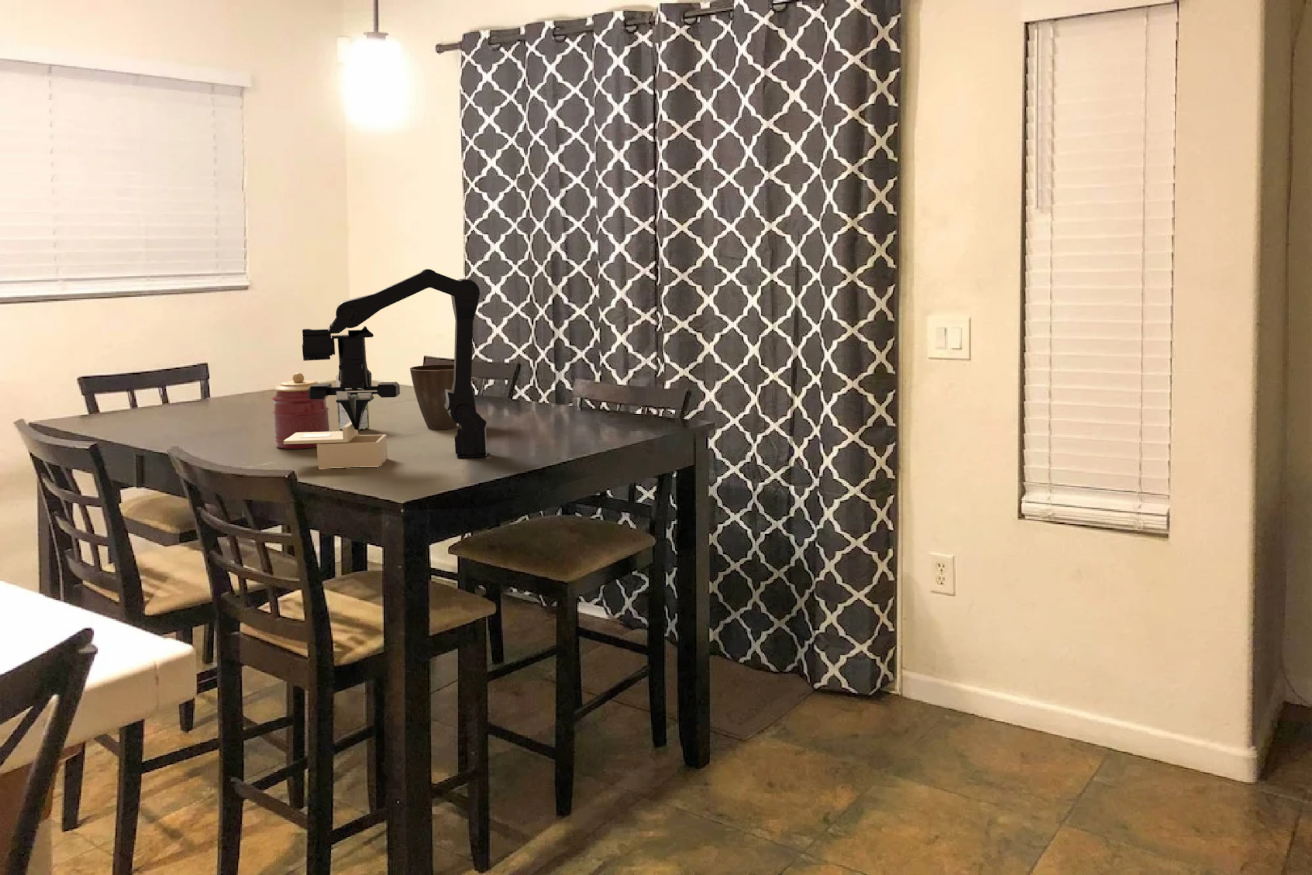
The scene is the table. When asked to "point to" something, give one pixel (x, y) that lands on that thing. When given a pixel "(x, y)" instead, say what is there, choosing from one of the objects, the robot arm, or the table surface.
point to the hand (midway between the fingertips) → (357, 429)
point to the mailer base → (353, 452)
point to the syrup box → (343, 415)
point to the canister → (298, 412)
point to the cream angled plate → (323, 436)
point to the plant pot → (433, 393)
